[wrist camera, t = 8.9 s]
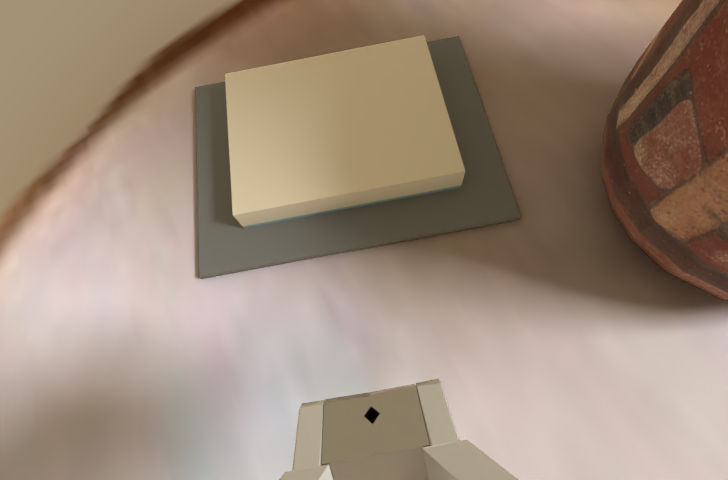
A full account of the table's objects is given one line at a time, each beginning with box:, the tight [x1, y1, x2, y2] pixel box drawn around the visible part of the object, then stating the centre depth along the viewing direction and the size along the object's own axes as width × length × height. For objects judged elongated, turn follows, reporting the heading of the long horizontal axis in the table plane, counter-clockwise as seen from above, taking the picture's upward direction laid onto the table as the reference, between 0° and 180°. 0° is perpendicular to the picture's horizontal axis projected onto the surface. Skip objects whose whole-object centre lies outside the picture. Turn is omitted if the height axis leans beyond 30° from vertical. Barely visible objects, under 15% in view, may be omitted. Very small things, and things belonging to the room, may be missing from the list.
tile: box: [225, 35, 465, 228], centre depth 28 cm, size 14×2×11 cm
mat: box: [195, 36, 521, 279], centre depth 29 cm, size 20×15×1 cm
